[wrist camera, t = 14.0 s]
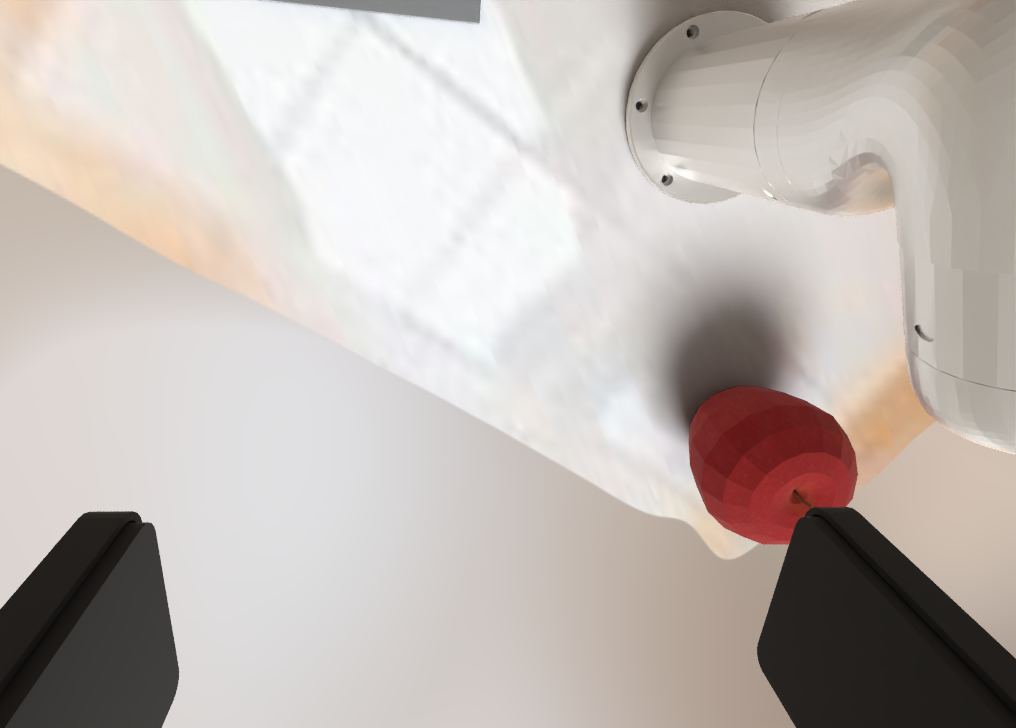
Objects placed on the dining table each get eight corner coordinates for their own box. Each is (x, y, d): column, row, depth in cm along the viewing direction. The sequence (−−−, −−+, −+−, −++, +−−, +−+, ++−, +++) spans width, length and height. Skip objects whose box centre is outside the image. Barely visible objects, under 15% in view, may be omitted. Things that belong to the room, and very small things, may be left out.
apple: (635, 420, 53) (697, 512, 41) (742, 332, 51) (841, 401, 39) (709, 498, 57) (786, 603, 45) (811, 420, 55) (919, 508, 43)
